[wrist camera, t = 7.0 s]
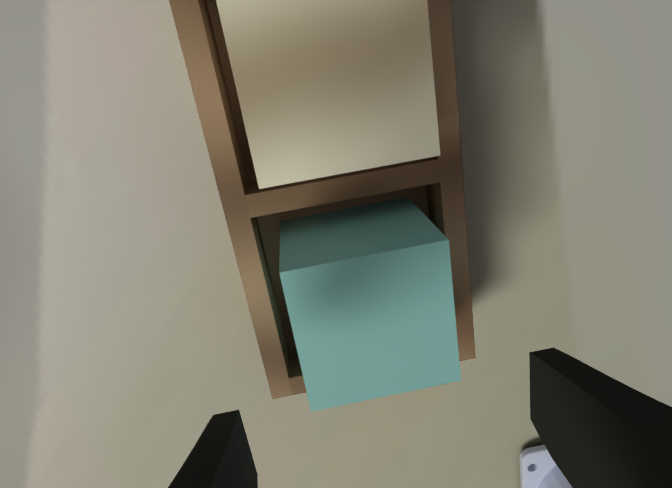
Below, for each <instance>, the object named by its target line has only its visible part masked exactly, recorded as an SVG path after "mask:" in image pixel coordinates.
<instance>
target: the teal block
mask: <svg viewBox="0 0 672 488" xmlns="http://www.w3.org/2000/svg"><path fill="white" fill-rule="evenodd" d="M279 274H280V278H281V283H282V287H283V292H284V296H285V300H286V305H287V309H288V313H289V318H290V322H291V326H292V331H293V335H294V339H295V344H296V348H297V352H298V357H299V361H300V365H301V370H302V374H303V379H304V383H305V387H306V392H307V396H308V400H309V405H310V409H311V411H316V410H321V409H326V408H330V407H335V406H340V405H345V404H350V403H355V402H359V401H364V400H369V399H374V398H379V397H384V396H388V395H393V394H398V393H403V392H408V391H413V390H417V389H422V388H427V387H432V386H437V385H442V384H447V383H451V382H456V381H461V374H460V363H459V352H458V340H457V329H456V317H455V306H454V294H453V283H452V272H451V260H450V249H449V239H448V238H447V237H446V236H445V235H444V234H443V233H442V232H441V231H440V230H439V229H438V228H437V227H436V226H435V225H434V224H433V223H432V222H431V221H430V220H429V219H428V218H427V217H426V216H425V215H424V213H423V212H422V211H421V210H420V209H419V208H418V207H417V206H416V205H415V204H414V203H413V202H412V201H411V200H410V199H409V198H408V197H402V198H397V199H392V200H387V201H381V202H376V203H371V204H366V205H360V206H355V207H350V208H345V209H339V210H334V211H329V212H324V213H318V214H313V215H308V216H303V217H298V218H292V219H287V220H282V221H280V257H279Z"/></svg>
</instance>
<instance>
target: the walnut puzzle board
mask: <svg viewBox="0 0 672 488" xmlns="http://www.w3.org/2000/svg"><path fill="white" fill-rule="evenodd" d="M169 2H170V5H171V9H172V13H173V17H174V21H175V25H176V29H177V32H178V36H179V40H180V44H181V48H182V52H183V56H184V59H185V63H186V67H187V71H188V75H189V79H190V83H191V86H192V90H193V94H194V98H195V102H196V106H197V110H198V113H199V117H200V121H201V125H202V129H203V133H204V137H205V140H206V144H207V148H208V152H209V156H210V160H211V164H212V167H213V171H214V175H215V179H216V183H217V187H218V191H219V194H220V198H221V202H222V206H223V210H224V214H225V218H226V221H227V225H228V229H229V233H230V237H231V241H232V245H233V248H234V252H235V256H236V260H237V264H238V268H239V272H240V275H241V279H242V283H243V287H244V291H245V295H246V299H247V302H248V306H249V310H250V314H251V318H252V322H253V326H254V329H255V333H256V337H257V341H258V345H259V349H260V353H261V356H262V360H263V364H264V368H265V372H266V376H267V380H268V383H269V387H270V391H271V395H272V399H276V398H281V397H286V396H291V395H296V394H301V393H305V392H306V387H305V383H304V379H303V374H302V370H301V365H300V361H299V357H298V352H297V348H296V344H295V339H294V335H293V331H292V326H291V322H290V318H289V313H288V309H287V305H286V300H285V296H284V292H283V287H282V283H281V278H280V274H279V257H280V221H282V220H287V219H292V218H298V217H303V216H308V215H313V214H318V213H324V212H329V211H334V210H339V209H345V208H350V207H355V206H360V205H366V204H371V203H376V202H381V201H387V200H392V199H397V198H402V197H408V198H409V199H410V200H411V201H412V202H413V203H414V204H415V205H416V206H417V207H418V208H419V209H420V210H421V211H422V212H423V213H424V215H425V216H426V217H427V218H428V219H429V220H430V221H431V222H432V223H433V224H434V225H435V226H436V227H437V228H438V229H439V230H440V231H441V232H442V233H443V234H444V235H445V236H446V237H447V238H448V239H449V249H450V260H451V272H452V283H453V294H454V306H455V317H456V329H457V340H458V352H459V361H463V360H468V359H473V358H476V357H475V343H474V329H473V314H472V300H471V286H470V271H469V257H468V243H467V228H466V214H465V199H464V185H463V171H462V156H461V142H460V128H459V113H458V99H457V85H456V70H455V56H454V42H453V27H452V13H451V0H169Z"/></svg>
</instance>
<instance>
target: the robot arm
mask: <svg viewBox="0 0 672 488" xmlns="http://www.w3.org/2000/svg"><path fill="white" fill-rule="evenodd" d="M530 415H531V421H532V423H533V425H534V426H535V428H536V430H537V432H538V434H539V436H540V438H541V440H542V442H543V443H544V445H540V446H535V447H530V448H527V449H525V450H523V451H522V453H521V454H520V481H521V488H672V407H670V406H668V405H666V404H664V403H661V402H659V401H657V400H655V399H653V398H651V397H649V396H647V395H645V394H643V393H641V392H639V391H637V390H635V389H633V388H630V387H628V386H627V385H625V384H623V383H621V382H619V381H617V380H615V379H613V378H611V377H609V376H607V375H605V374H604V373H602V372H600V371H598V370H596V369H594V368H592V367H590V366H588V365H587V364H584V363H583V362H581V361H579V360H577V359H575V358H573V357H571V356H569V355H567V354H565V353H563V352H561V351H559V350H557V349H555V348H550V349H545V350H540V351H535V352H530ZM168 488H258V486H257V472H256V468H255V465H254V461H253V458H252V454H251V451H250V447H249V443H248V440H247V436H246V433H245V429H244V426H243V422H242V419H241V415H240V412H239V410H236V411H231V412H226V413H221V414H216V415H213V417H212V418H211V419H210V421H209V423H208V424H207V426H206V428H205V429H204V431H203V433H202V434H201V436H200V438H199V439H198V441H197V443H196V444H195V446H194V448H193V449H192V451H191V453H190V454H189V456H188V458H187V459H186V461H185V462H184V464H183V465H182V467H181V469H180V470H179V472H178V473H177V475H176V476H175V478H174V479H173V481H172V483H171V484H170V486H169V487H168Z"/></svg>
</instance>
